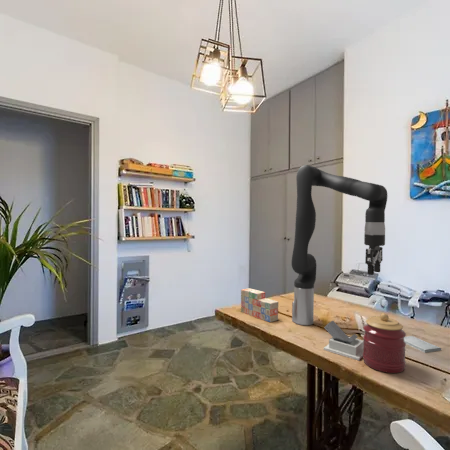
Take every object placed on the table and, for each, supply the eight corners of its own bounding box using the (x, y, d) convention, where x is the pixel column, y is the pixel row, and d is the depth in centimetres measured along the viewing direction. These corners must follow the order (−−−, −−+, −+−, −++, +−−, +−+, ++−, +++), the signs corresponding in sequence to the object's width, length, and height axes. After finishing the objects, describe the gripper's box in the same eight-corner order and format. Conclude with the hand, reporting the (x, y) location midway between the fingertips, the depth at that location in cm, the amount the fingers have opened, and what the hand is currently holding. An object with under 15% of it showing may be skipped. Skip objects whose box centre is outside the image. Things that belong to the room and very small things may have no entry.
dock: (323, 349, 114) (323, 339, 114) (335, 341, 122) (335, 332, 122) (359, 360, 105) (359, 350, 105) (368, 350, 113) (369, 340, 113)
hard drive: (441, 347, 114) (412, 335, 126) (424, 349, 112) (397, 337, 124) (441, 351, 114) (412, 339, 126) (424, 354, 112) (397, 341, 124)
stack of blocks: (278, 320, 148) (278, 295, 148) (269, 322, 144) (270, 297, 144) (249, 309, 165) (249, 287, 164) (240, 311, 161) (240, 289, 161)
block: (343, 349, 112) (324, 327, 118) (347, 346, 115) (328, 325, 120) (354, 340, 110) (333, 318, 115) (357, 337, 113) (337, 315, 118)
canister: (378, 353, 111) (378, 306, 111) (413, 368, 100) (414, 316, 100) (354, 360, 105) (355, 310, 105) (389, 377, 94) (390, 322, 94)
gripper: (370, 232, 129) (369, 270, 129) (359, 233, 118) (358, 274, 118) (389, 233, 124) (388, 272, 124) (379, 234, 113) (378, 277, 113)
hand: (374, 273), depth 121 cm, fingers open, 8 cm apart
